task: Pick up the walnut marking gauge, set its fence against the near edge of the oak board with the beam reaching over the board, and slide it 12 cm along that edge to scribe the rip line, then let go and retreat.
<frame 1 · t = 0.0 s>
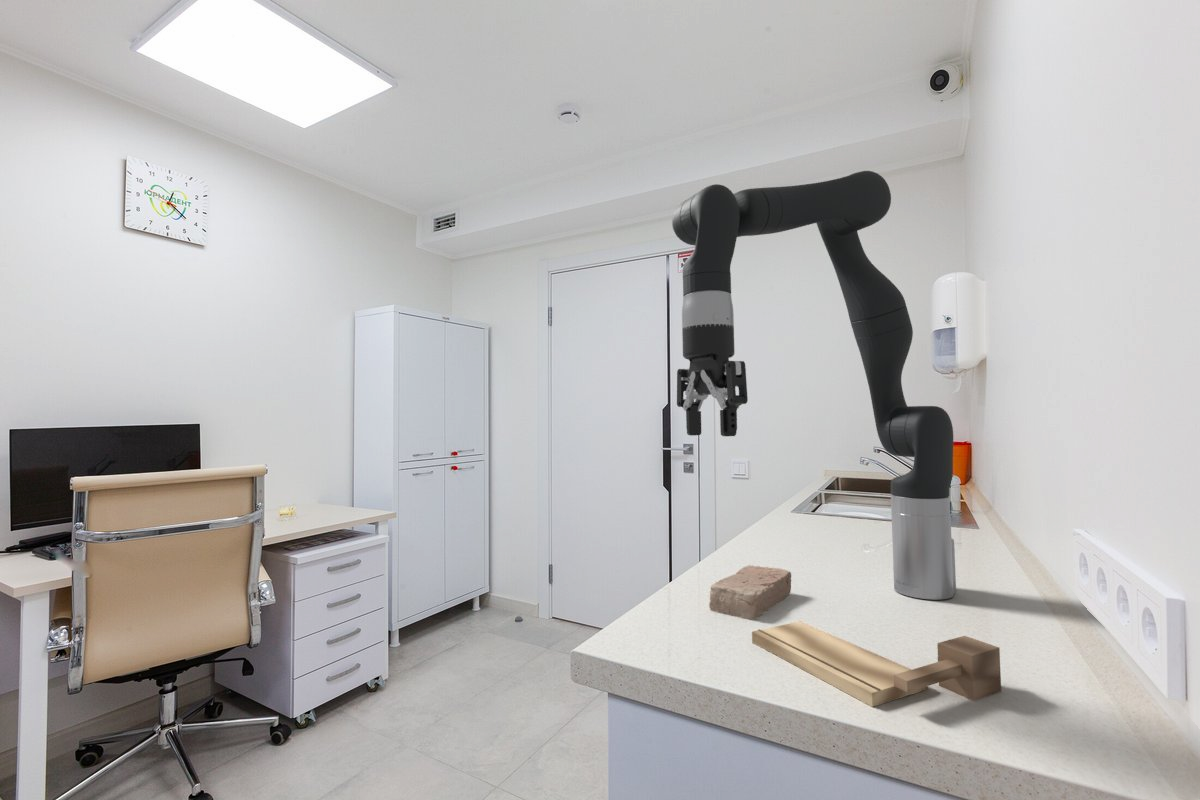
hand: (710, 435, 83), 29 cm above the counter, fingers open, 8 cm apart
board: (831, 663, 73), on the counter
brick: (752, 605, 98), on the counter
gauge: (969, 688, 66), on the counter
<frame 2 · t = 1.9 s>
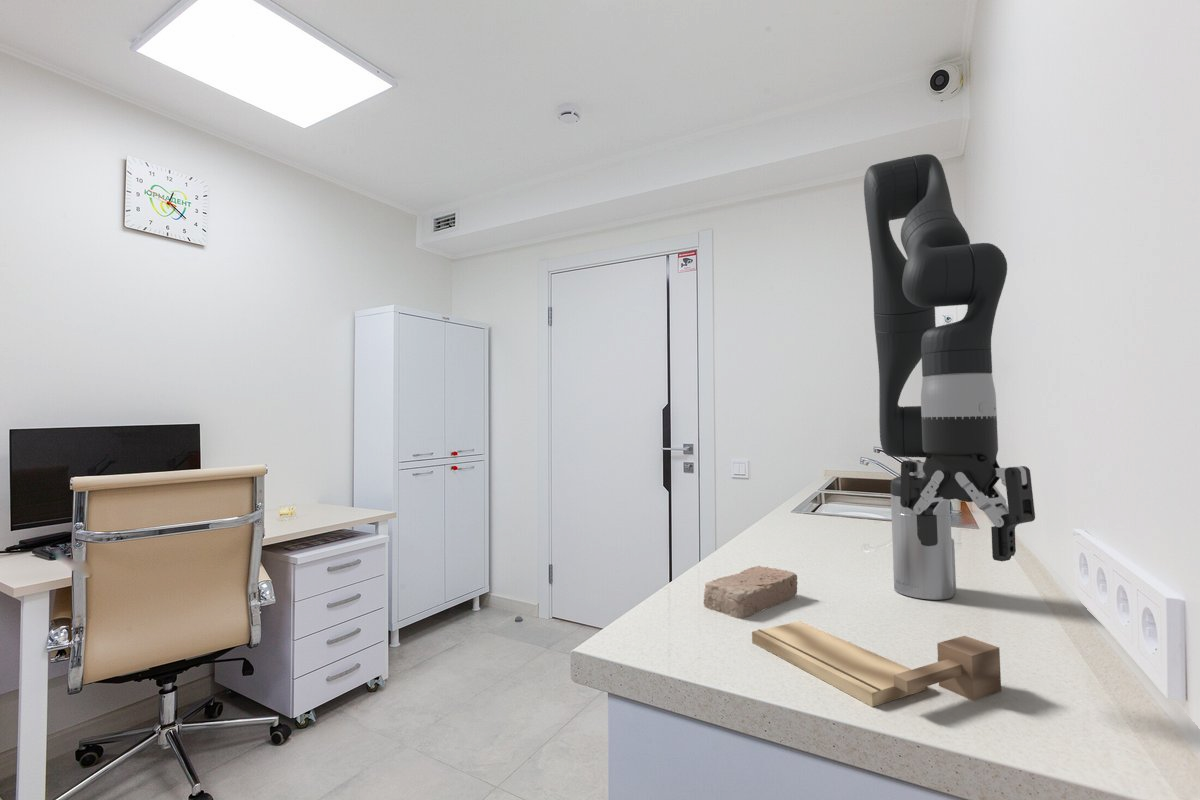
hand: (963, 552, 66), 16 cm above the counter, fingers open, 8 cm apart
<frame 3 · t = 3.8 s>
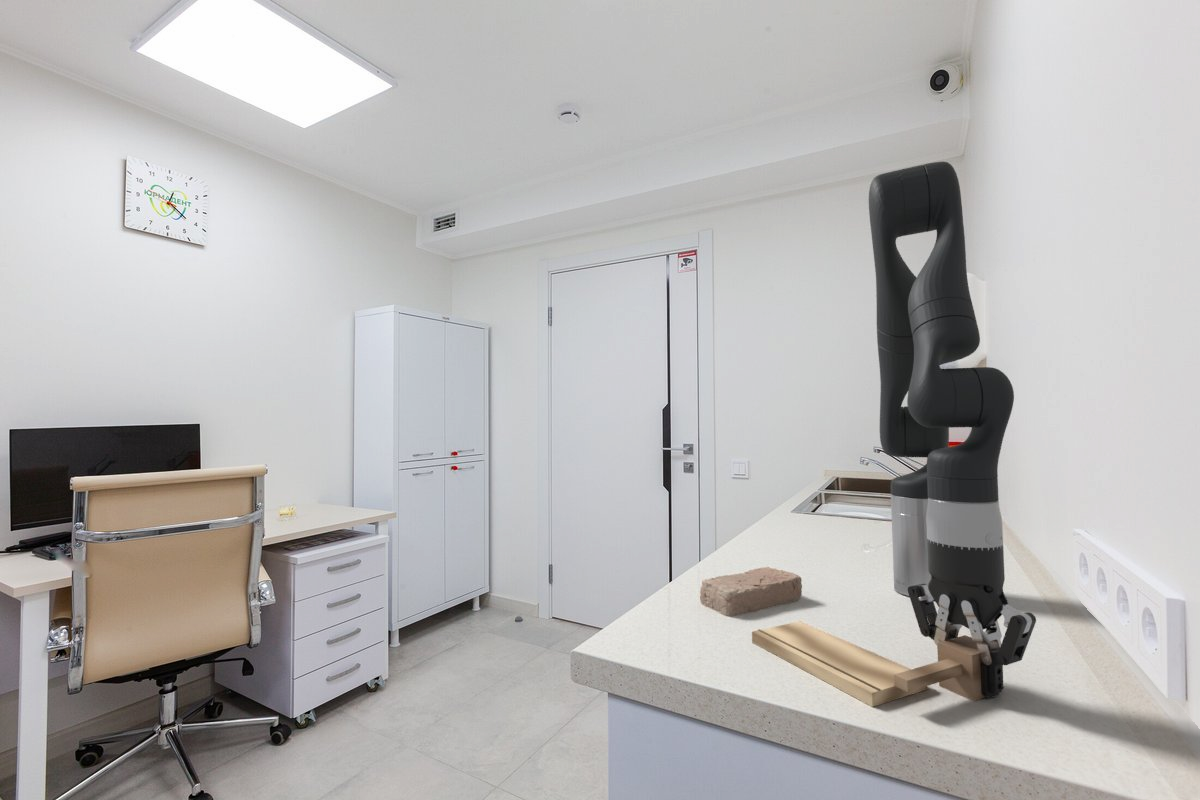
hand: (969, 685, 66), 0 cm above the counter, fingers closed on gauge, 4 cm apart
gauge: (970, 688, 66), on the counter, touching gripper
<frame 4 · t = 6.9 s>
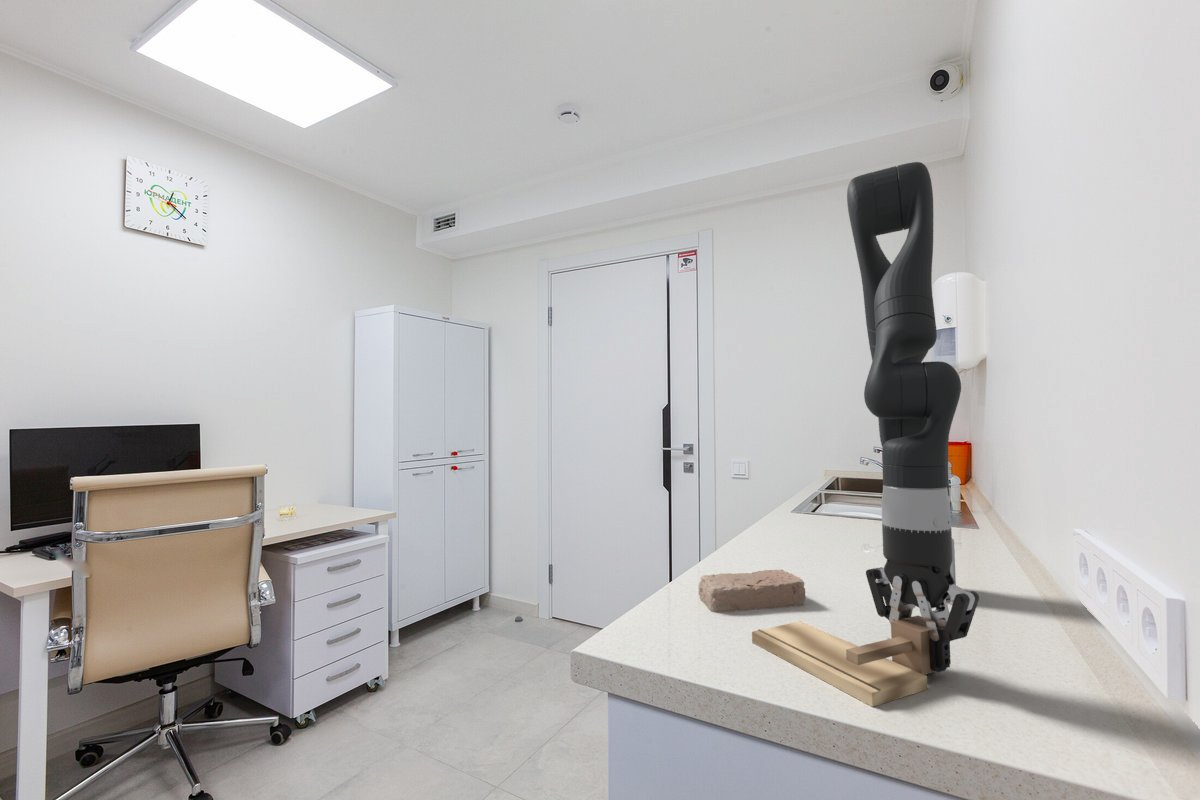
hand: (920, 662, 70), 1 cm above the counter, fingers closed on gauge, 4 cm apart
gauge: (920, 664, 70), point 1 cm above the counter, touching gripper
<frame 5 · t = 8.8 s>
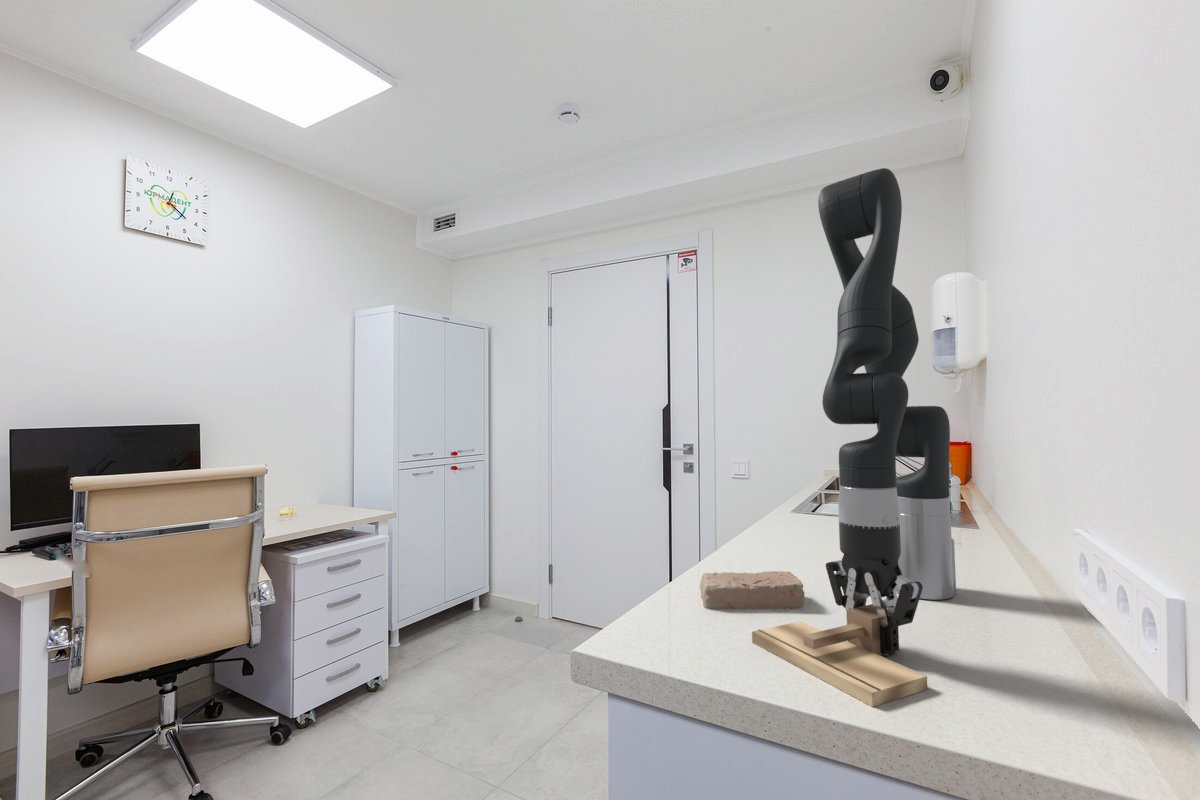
hand: (873, 646, 76), 1 cm above the counter, fingers closed on gauge, 4 cm apart
gauge: (873, 648, 76), on the counter, touching gripper
when the fingers open (1 cm above the counter, at t = 10.3 s): gauge stays where it is, on the counter.
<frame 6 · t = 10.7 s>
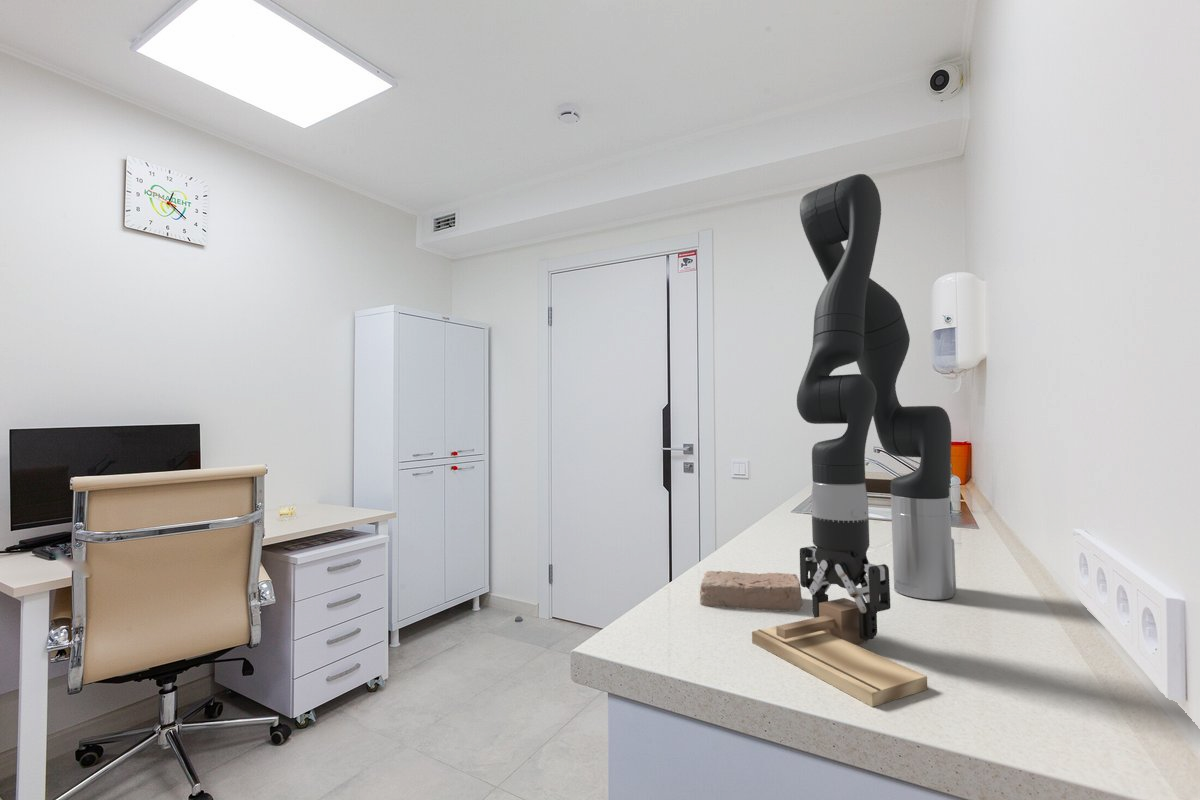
hand: (843, 628, 81), 1 cm above the counter, fingers open, 7 cm apart
gauge: (843, 639, 81), on the counter
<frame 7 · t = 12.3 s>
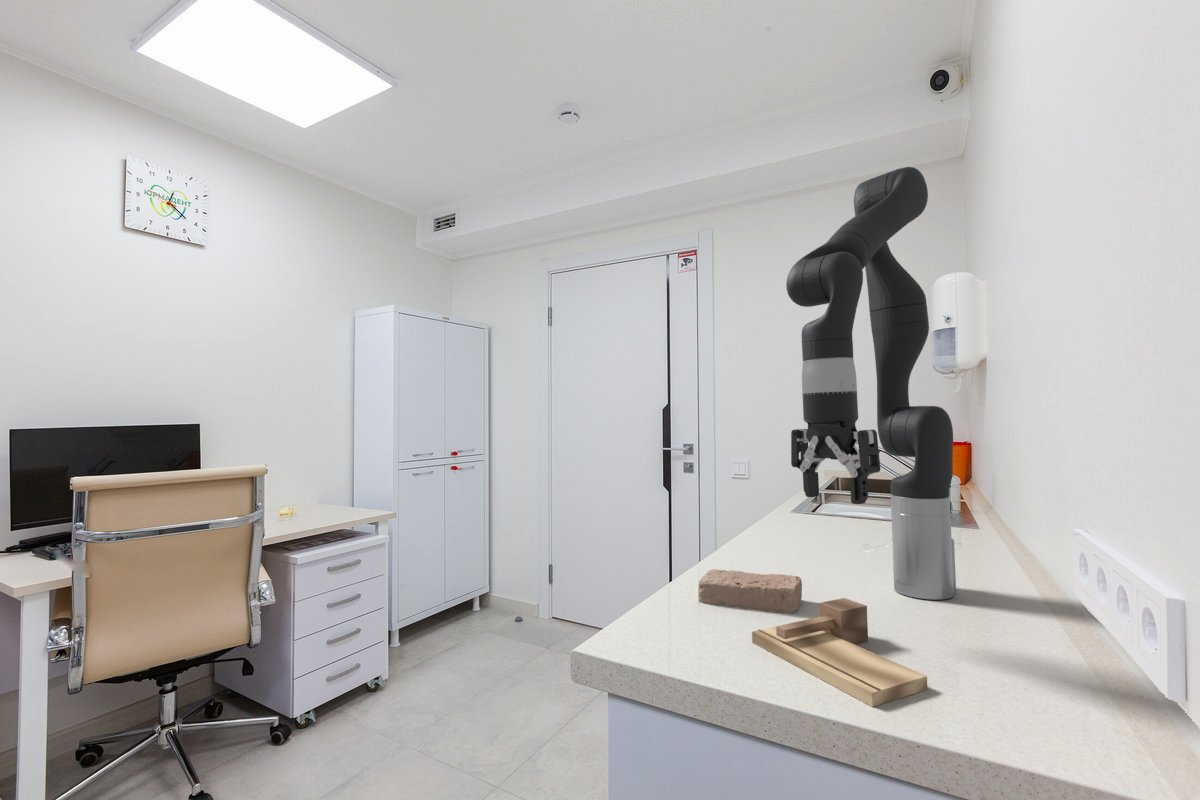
hand: (834, 499, 83), 19 cm above the counter, fingers open, 8 cm apart
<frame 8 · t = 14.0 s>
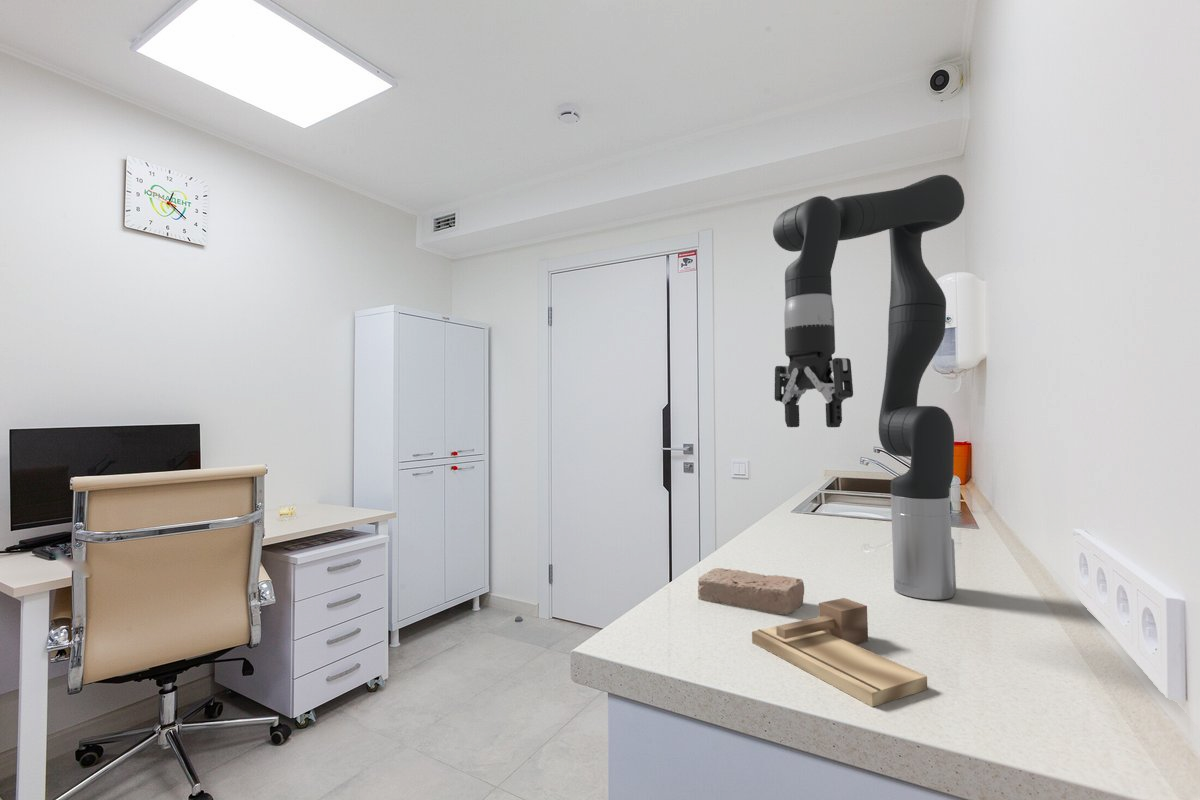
hand: (812, 427, 90), 30 cm above the counter, fingers open, 8 cm apart
at the end: gauge inside the target area (0.2 cm from its centre), on the counter; gauge tilted 0°; the gripper is holding nothing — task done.
